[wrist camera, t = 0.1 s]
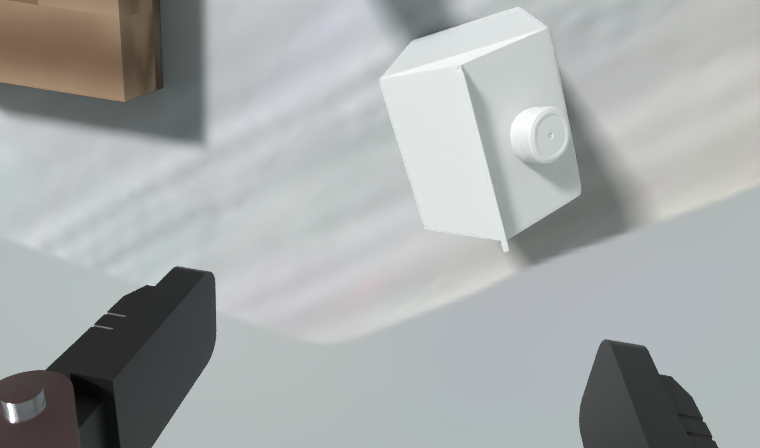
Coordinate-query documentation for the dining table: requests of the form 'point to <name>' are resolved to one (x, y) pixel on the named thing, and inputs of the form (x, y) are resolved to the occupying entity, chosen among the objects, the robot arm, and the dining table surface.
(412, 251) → the dining table surface
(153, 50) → the bore block
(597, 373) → the robot arm
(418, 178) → the milk carton
